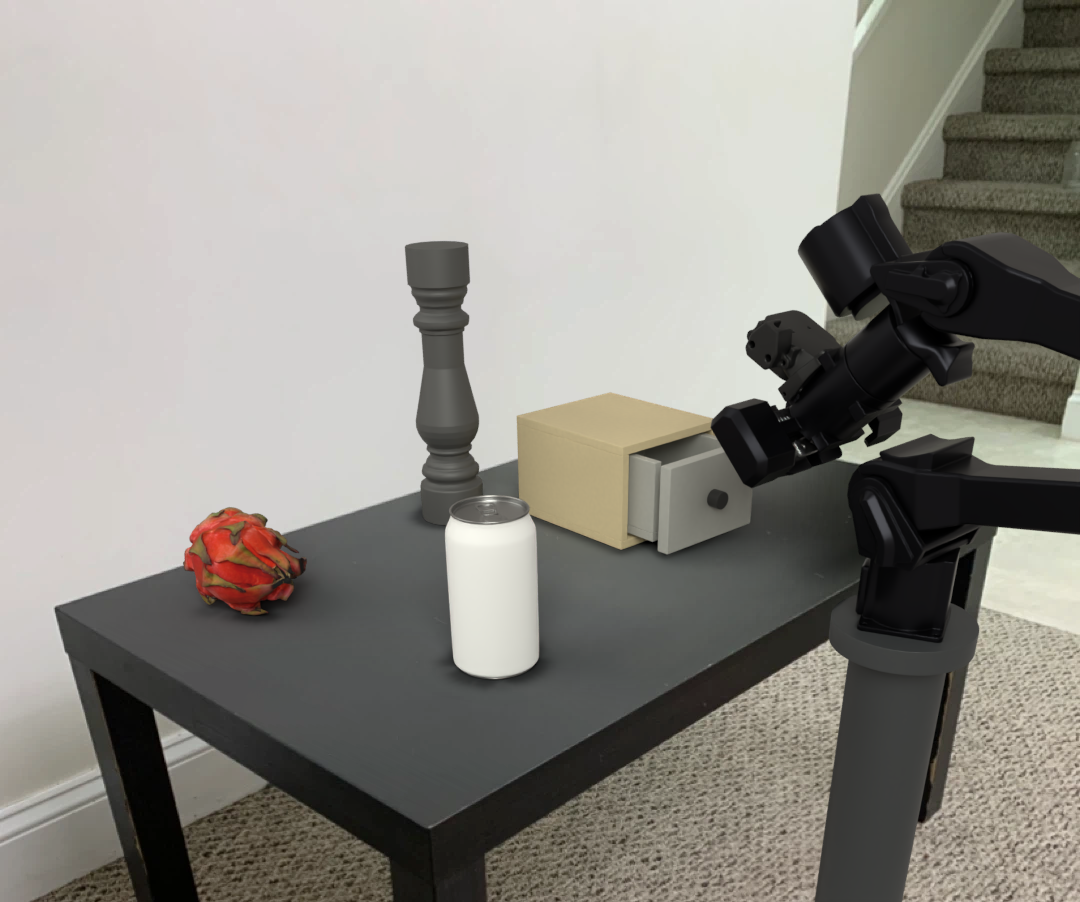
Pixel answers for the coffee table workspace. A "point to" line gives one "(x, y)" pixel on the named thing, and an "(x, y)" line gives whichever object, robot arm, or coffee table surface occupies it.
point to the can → (493, 586)
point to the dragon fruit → (241, 561)
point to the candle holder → (443, 376)
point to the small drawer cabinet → (592, 460)
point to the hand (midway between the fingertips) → (747, 478)
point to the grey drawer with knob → (685, 493)
